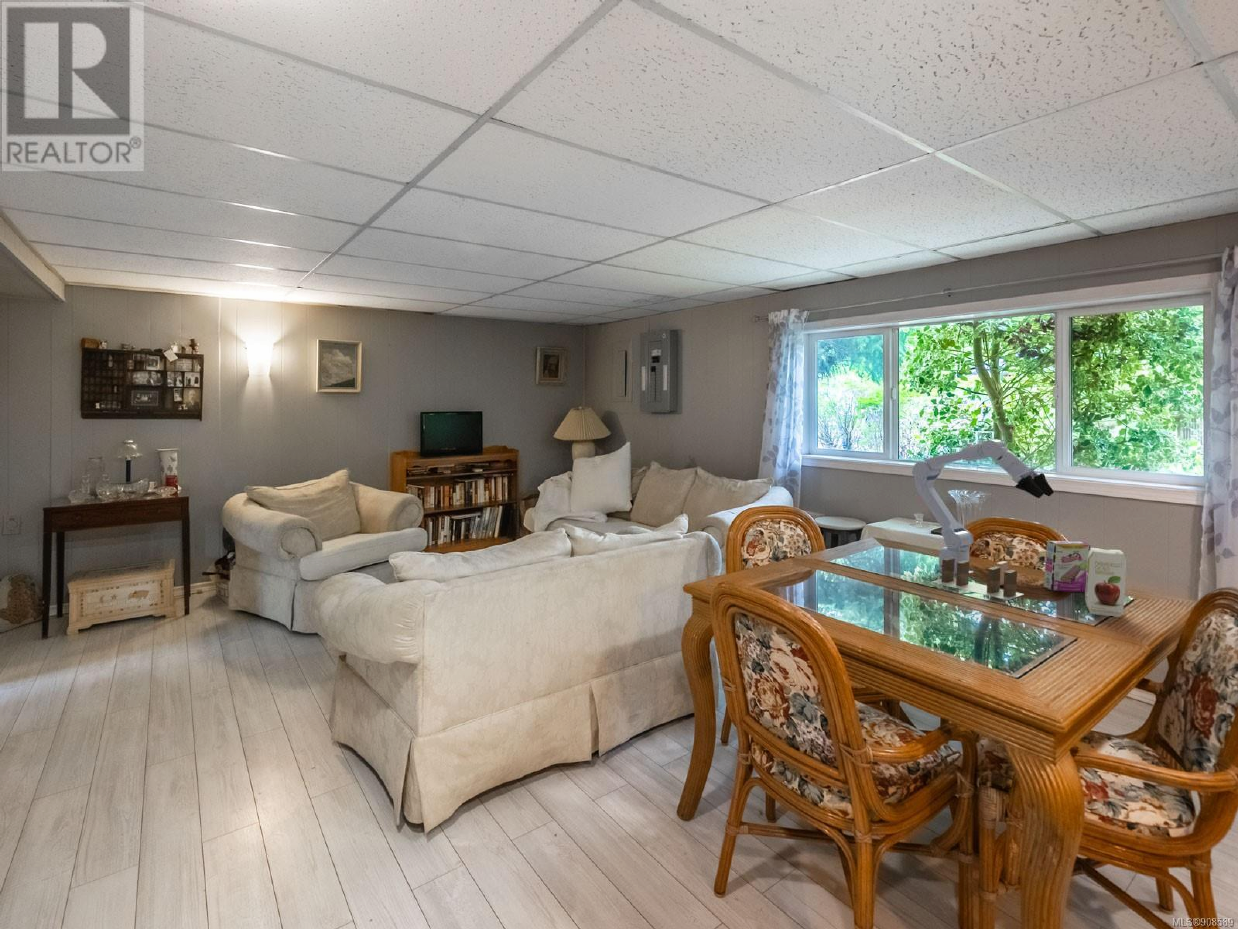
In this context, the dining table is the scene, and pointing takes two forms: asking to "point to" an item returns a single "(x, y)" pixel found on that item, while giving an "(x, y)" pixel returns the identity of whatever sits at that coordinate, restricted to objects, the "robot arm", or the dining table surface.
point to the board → (977, 589)
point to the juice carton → (1105, 582)
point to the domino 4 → (1002, 570)
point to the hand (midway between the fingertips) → (1046, 495)
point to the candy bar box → (1066, 566)
